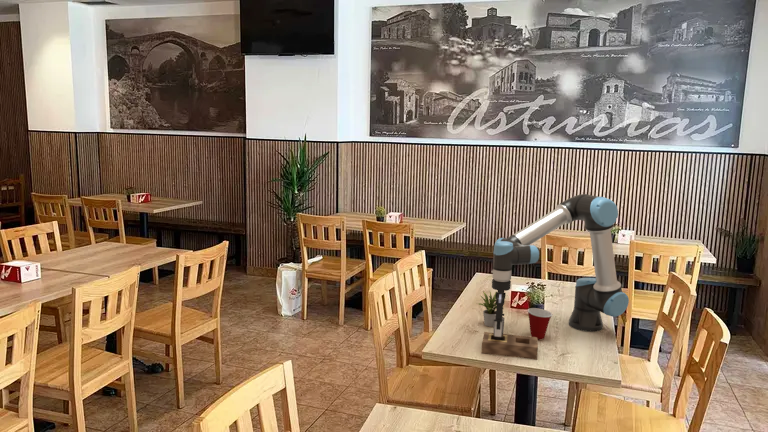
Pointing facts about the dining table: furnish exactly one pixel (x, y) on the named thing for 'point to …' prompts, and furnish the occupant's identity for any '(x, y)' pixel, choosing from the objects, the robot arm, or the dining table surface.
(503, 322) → the pin
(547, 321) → the plastic cup
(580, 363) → the dining table surface
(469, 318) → the dining table surface
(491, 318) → the house plant
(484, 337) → the hole block
